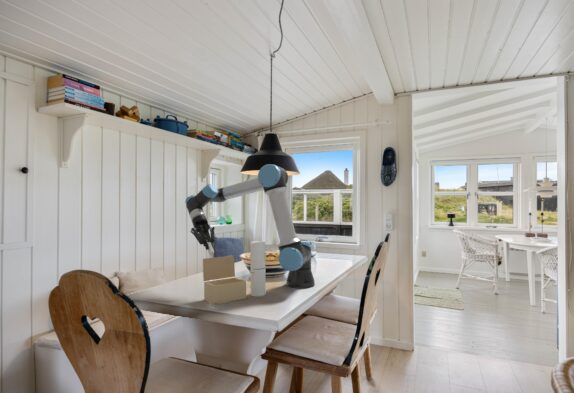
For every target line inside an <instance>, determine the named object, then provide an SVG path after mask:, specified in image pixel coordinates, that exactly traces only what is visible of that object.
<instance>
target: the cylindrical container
mask: <svg viewBox="0 0 574 393" xmlns="http://www.w3.org/2000/svg"><path fill="white" fill-rule="evenodd" d="M249 245H250V247H249V248H250V251H249V252H250V255H249V256H250V296H252V297H264V296H266V294H267V293H266V290H267V289H266V241H261V240H260V241H259V240H257V241H256V240H254V241H250V244H249Z"/></svg>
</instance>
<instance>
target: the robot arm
mask: <svg viewBox="0 0 574 393" xmlns="http://www.w3.org/2000/svg"><path fill="white" fill-rule="evenodd" d="M288 181H289V175H288V172H287V170H286V169H285V168H284V167H281V166H278V165H276V164H271V163H269V164H264V165H263V166H261V167H260V169H259V171H258V172H257V177H255V178H252V179H248V180H245V181H241V182H237V183H234V184H231V185H227V186H223V187H220V188H217V187H216V186H215V185H214V184H211V183H208V184H206V185H204V187H202V189H201V190H200V191H199V192H198V193H196V195H195V194H193V195H191V194H190V196H187V197H186V199H185V202H184V203H185V206H186V207H185V208H186V209H187V211H188V215H189V218H190V220H191V223H192V225H193V226H192V228H190V231H189V232H190V233H191V234H192V235H193V236H194V237H195V239H196V241H197V242H198V243H199V245H200V246H202V245H203V247H204V248H205V250H206V251H207V252H208V255H209V256H210V257H211V256H212V257H213V256H214V254H215V250H214V247H215V246H214V244H215V241H216V238H215V237H216V236H215V226H212V227H211V226H210V224H209V223H208V219H207V217H206V214H205V212H204V210H203V208H204V207H205V206H207V205H208V204H209V203H224V202H226V201H227V200H230V199H232V200H233V199H235V198H238V197H242V196H246V195H250V194H255V193H257V192H261V191H263V193H264V194H265V196H266V195H267V197H268V199H269V202H270V207H271V211H272V216H273V219H274V223H275V227H276V232H277V236H278V239H279V243H278V245H277V246H278V250H279V254H278V262H279V265H280V267H281V268H283V269H284V270H285V271H288V274H287V277H286V280H285V281H286V284H285V286H287V287H289V288H294V289H296V288H297V289H307V288H312V287H314V286H315V282H316V280H315V278H314V274H313V272H312V243H311V242H309V241H302V240H301V239H299V238H298V237H297V233H296V230H295V227H294V226H295V225H294V222H293V218H292V214H291V210H290V206H289V203H288V198H287V196H286V195H287V194H286V190H287V183H288ZM209 232H210V233H209Z"/></svg>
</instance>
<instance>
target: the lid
mask: <svg viewBox="0 0 574 393" xmlns="http://www.w3.org/2000/svg"><path fill="white" fill-rule="evenodd" d="M202 276H203V277H202V278H203V282H208V281H214V280H221V279H227V278H234V277H236V272H235V255H227V256H217V257H216V256H215V257H206V258H202Z"/></svg>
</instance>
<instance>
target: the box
mask: <svg viewBox="0 0 574 393" xmlns="http://www.w3.org/2000/svg"><path fill="white" fill-rule="evenodd" d="M203 283H204V285H203V291H204V292H203V298H204V301H206V302H208V303H209V304H211V305H213V306H215V305H220V304H224V303H226V304H227V303H231V302H236V301H239V300H245V299H247V280H245V279H243V278H239V277H236V276H235V277H229V278H222V279H215V280H209V281H203Z"/></svg>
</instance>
